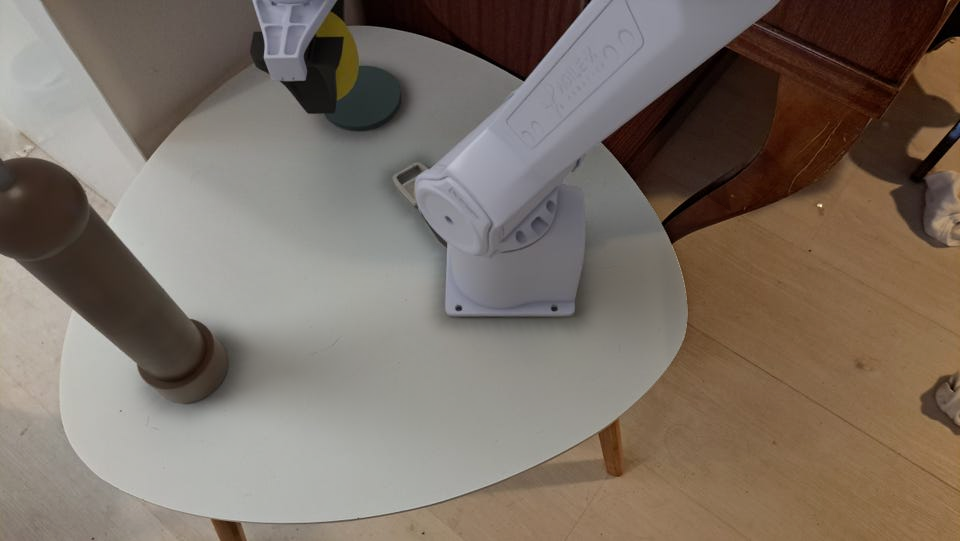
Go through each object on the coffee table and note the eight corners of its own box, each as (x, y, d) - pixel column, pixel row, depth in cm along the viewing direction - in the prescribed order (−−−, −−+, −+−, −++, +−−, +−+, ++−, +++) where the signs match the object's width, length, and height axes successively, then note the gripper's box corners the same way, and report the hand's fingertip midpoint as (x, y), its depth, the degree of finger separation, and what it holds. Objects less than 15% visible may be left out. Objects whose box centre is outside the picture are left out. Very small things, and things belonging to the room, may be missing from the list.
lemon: (355, 130, 53) (334, 48, 46) (283, 119, 53) (251, 37, 46) (374, 74, 55) (358, -12, 48) (305, 65, 56) (279, -22, 49)
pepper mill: (234, 335, 53) (63, 115, 32) (221, 403, 50) (26, 215, 29) (163, 334, 53) (-55, 116, 32) (147, 403, 50) (-101, 215, 29)
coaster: (403, 69, 65) (402, 65, 65) (398, 131, 62) (398, 126, 61) (325, 70, 65) (324, 65, 65) (316, 131, 62) (315, 126, 61)
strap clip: (389, 182, 59) (383, 150, 56) (420, 165, 60) (416, 132, 57) (448, 255, 56) (445, 226, 52) (480, 235, 57) (479, 205, 53)
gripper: (227, -170, 44) (283, 7, 56) (181, -5, 37) (256, 157, 49) (343, -172, 44) (374, 6, 56) (318, -6, 37) (359, 156, 49)
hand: (325, 77), depth 53 cm, fingers closed on lemon, 5 cm apart
